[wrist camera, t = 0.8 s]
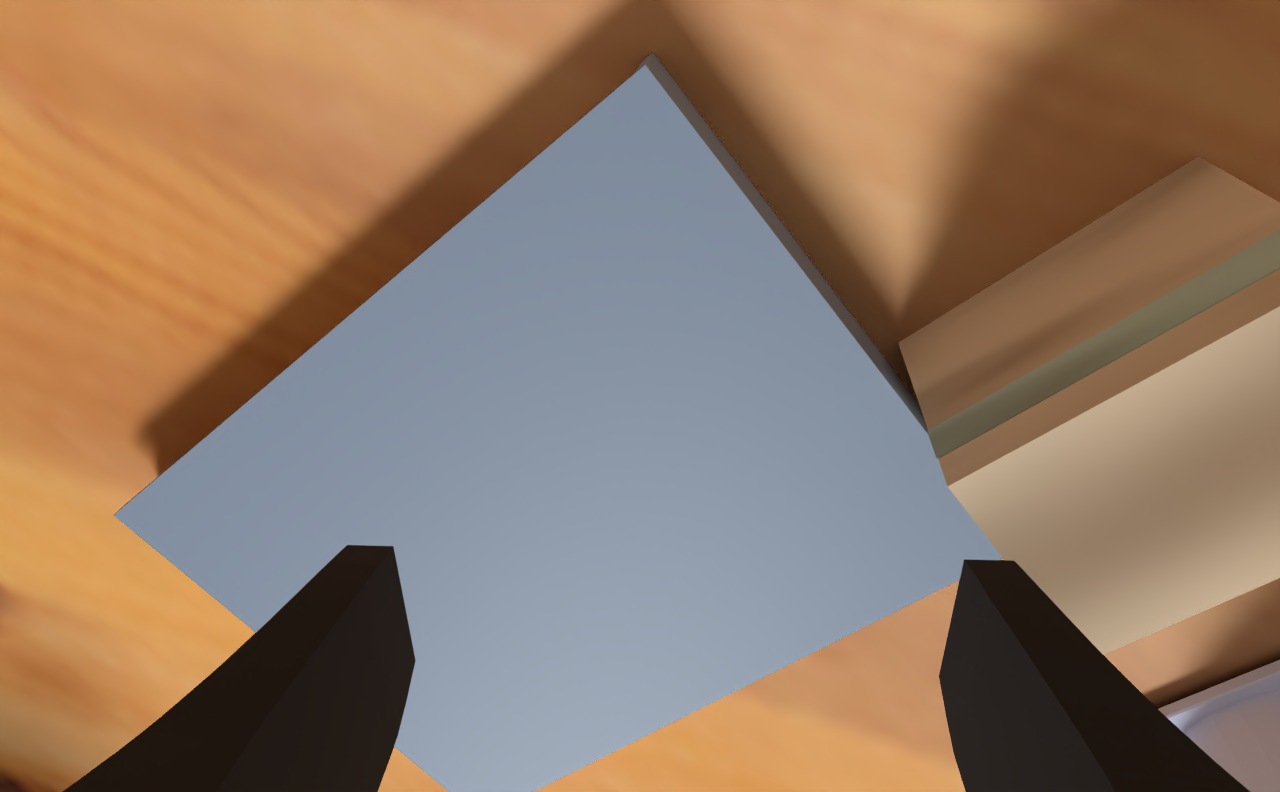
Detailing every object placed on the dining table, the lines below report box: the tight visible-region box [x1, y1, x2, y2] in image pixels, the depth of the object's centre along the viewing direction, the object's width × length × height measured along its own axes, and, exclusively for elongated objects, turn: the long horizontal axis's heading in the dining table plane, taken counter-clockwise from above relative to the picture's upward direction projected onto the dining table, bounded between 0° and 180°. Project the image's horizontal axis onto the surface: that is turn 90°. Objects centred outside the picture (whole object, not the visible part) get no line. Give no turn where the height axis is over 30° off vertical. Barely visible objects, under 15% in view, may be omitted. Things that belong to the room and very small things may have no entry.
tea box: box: [898, 156, 1280, 655], centre depth 18 cm, size 5×7×6 cm
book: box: [114, 52, 1003, 792], centre depth 24 cm, size 14×18×2 cm
